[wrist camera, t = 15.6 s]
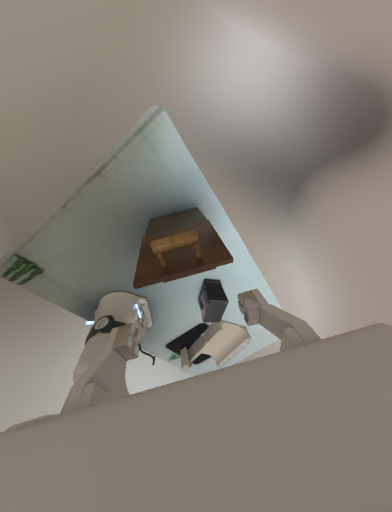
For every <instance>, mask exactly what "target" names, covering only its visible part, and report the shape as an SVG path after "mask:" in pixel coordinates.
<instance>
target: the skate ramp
mask: <svg viewBox="0 0 392 512" xmlns="http://www.w3.org/2000/svg"><path fill="white" fill-rule="evenodd" d="M250 338H251V337H250V335H249V333H248V331H247V329H246V327H243V326H240V325H236V324H233V323H229V322H226V321H223V320H221V321H220V322H213V323H212V324H211V325H210V326H209V327H208V328H207V329H206V330H205V332H204V333H203V334H202V335H201V336H200V337H199V338H198V339H197V340H196V341H195V342H194V344H193V345H192V346H191V347H190V348H189V349H188V353H187V346H186V348H185V347H184V348H183V349H182V350H181V365H182V369H184V370H185V369H189V368H190V367H191V365H192V361H194V360H195V359H196V358H197V357H198V356H199V355H200V354H201V353H203V354H209V355H211V356H212V357H213V358H214V360H215V361H216V364H217V366H219V367H220V365H221V364H222V363H223V362H225V361H226V360H227V359H228V358H229V357H230V356H231V355H232V354H233V353H235V352H236V351H237V352H238V349H239V348H240V347H241V346H242V345H244V344H245V343H247V341H248V340H249V339H250ZM251 340H252V339H251ZM249 343H250V342H249ZM245 345H246V344H245ZM247 345H248V344H247ZM237 352H236V353H237ZM239 352H240V351H239ZM239 352H238V353H239ZM233 355H234V354H233ZM188 356H189V362H188ZM231 357H232V356H231ZM229 359H230V358H229ZM229 359H228V360H229ZM228 360H227V361H228ZM230 360H231V359H230ZM222 367H223V366H222ZM217 368H218V367H217ZM218 369H219V368H218ZM184 370H183V371H184Z"/></svg>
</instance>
